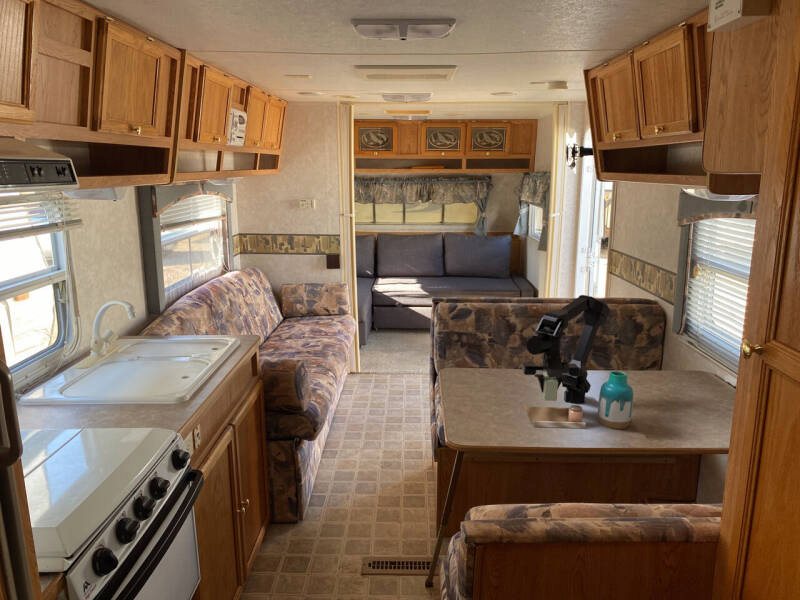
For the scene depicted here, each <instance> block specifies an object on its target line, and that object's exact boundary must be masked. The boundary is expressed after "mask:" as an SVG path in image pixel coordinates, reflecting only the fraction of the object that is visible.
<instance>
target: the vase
mask: <svg viewBox="0 0 800 600" xmlns="http://www.w3.org/2000/svg"><path fill="white" fill-rule="evenodd" d="M597 404H598V405H597V409H598V410H597V417H598V421H599V423H600V424H601V425H602V426H603V427H606V428H609V429H612V430H613V429H614V430H624V429H626V428H627V427H628V426H629V424H630V423H631V420H632V419H631V418H632V414H633V408H634V407H633V406H634V390H633V388H632V386H631V385H630V384H628V374H627V373H626V372H624V371H620V370H612V371H610V372H609V377H608V380H607V381H605V382H604V383H602V385H601V386H600V390H599V395H598V403H597Z"/></svg>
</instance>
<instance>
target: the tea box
mask: <svg viewBox="0 0 800 600" xmlns="http://www.w3.org/2000/svg"><path fill="white" fill-rule="evenodd" d="M542 374H543V376H544V378H543V385H544V390H543V393H542V392H541V391H540V394H541V396H542V398H543V400H544V401H546V402H547V401H550V402H551V401H552V402H556V401H558V399H557V398H558V390H559V388H558V380H557V379H556V377H549V376H548V375H547V373H542ZM557 389H558V390H557Z"/></svg>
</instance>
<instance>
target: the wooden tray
mask: <svg viewBox="0 0 800 600" xmlns="http://www.w3.org/2000/svg"><path fill="white" fill-rule="evenodd" d="M523 407H524V410H525V412H526V414H527V416H528V419H529V421H530V424H531V426H532V428H552V429H554V428H555V429H556V428H557V429H583V430H584V429H586V424H587V423H586V422H583V421H582V422H568V417H569V408H570V407H558V406H555V407H552V406H551V407H550V406H523Z"/></svg>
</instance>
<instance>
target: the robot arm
mask: <svg viewBox="0 0 800 600" xmlns="http://www.w3.org/2000/svg"><path fill="white" fill-rule="evenodd" d="M610 313H611V309H610V307H609V305H608V303H603V302H601V301H599V300H598V299H596V298H595V297H593V296H590V295H586V294H585V295H584V294H581V295H579V296H578V297H577V298H575V299H574V300H572V301H571V302H570V303H568V304H566V305H565V306H563V307H562V308H560V309H554V310H553V309H552V310H549V311H547V312H545V313H544V314H543V315H542V317H541V320H540V321H539V324H538V325H537V327H536V330H535V333H532V337H530V338H529V339H528V340H527V342H526V348H527V351H528V353H530V354H531V355H533V356H537V355H540V354H542V361H541V365H536V364H535V363H534V361H533V362H532V361H531V362H529V361H524V362H523V363H522V364H521V371H522V373H523V374H524V375H526V376H534V377H535V378H537V380H538V384H539V387H540V393H541V392H542V393H543V390H544V385H543V378H544V376H543V374H544V373H543V372H545V373H546V374H547V375H548V376H549V377H556V379H557V380H558V389H557V391H558V390H559V388H560V386H562V388H565V391H564V392H563V401H564V402H565V403H567V404H568V403H569V404H572V405H581V404H585V402H586V401H585V400H586V394H588V393H589V392H590V390H591V386H592V385H591V383H590V382H589V380H588V379H587V378H588V374H589V373H588V369H587V366H586V365H587V362H588V360H589V357H590V353H591V351H592V349H593V346H594V345H593V344H594V341H595V339H596V336H597V333H598V330H599V328H601V326H602V325H603V324H605V323H606V321H607V319H608V318H609V315H610ZM580 314H582V316H583V317H582V318H583V320H584V325H583V328H582V331H581V334H580V337H579V339H578V342H577V345H576V348H575V351H574V354H573V357H572V360H570V362H568V361H562V356H561V348H562V337H564V336H566V332H565V331H564V330H565V329H566V328H568V326H569V324H570V323H569V322H570V321H571V320H573V319H574V318H576V317H577V316H579V315H580Z"/></svg>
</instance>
